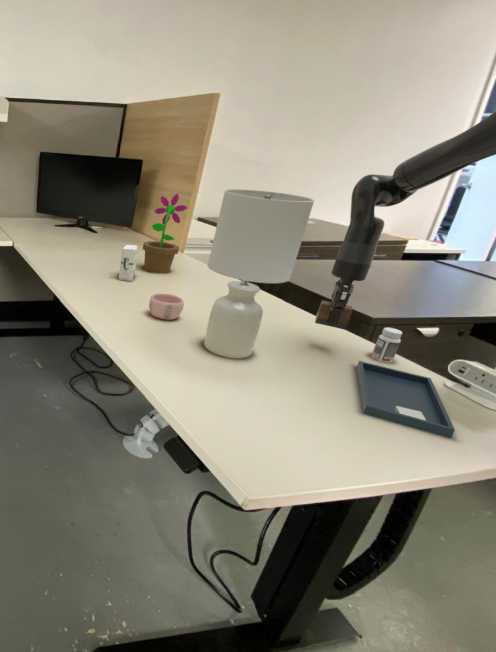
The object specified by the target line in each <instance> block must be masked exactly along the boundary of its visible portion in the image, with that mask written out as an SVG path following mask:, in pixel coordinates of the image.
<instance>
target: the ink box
mask: <svg viewBox="0 0 496 652" xmlns="http://www.w3.org/2000/svg"><path fill="white" fill-rule="evenodd" d="M138 250H139V246H138V245H134V244H125V245H124V247H123V248H122V249H121V257H120V264H119V273H118V280H119V281H125V282H130V283H131V282H132V280H133V279H134V277H135V275H136V266H137V258H138Z"/></svg>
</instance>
